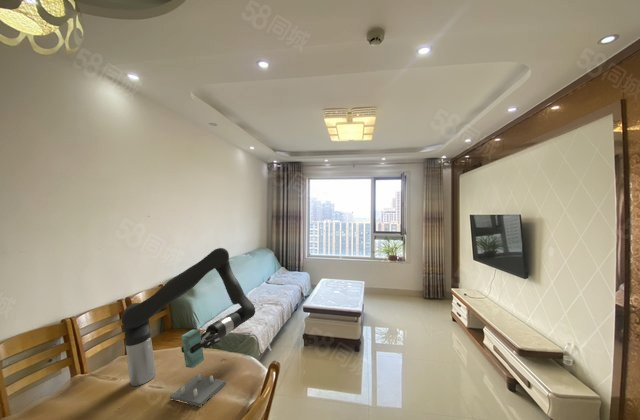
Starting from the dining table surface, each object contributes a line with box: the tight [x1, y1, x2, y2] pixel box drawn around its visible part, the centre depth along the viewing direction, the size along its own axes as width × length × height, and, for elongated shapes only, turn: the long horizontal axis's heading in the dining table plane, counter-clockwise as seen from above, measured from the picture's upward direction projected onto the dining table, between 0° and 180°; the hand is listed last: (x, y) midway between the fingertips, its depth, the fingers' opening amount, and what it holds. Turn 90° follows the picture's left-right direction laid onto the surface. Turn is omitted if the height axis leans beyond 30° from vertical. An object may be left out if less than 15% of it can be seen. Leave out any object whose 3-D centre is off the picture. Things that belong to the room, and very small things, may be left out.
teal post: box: [181, 329, 205, 369], centre depth 98 cm, size 4×5×12 cm
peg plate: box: [169, 373, 227, 407], centre depth 98 cm, size 16×12×4 cm
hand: (186, 350), depth 96 cm, fingers closed on teal post, 4 cm apart
